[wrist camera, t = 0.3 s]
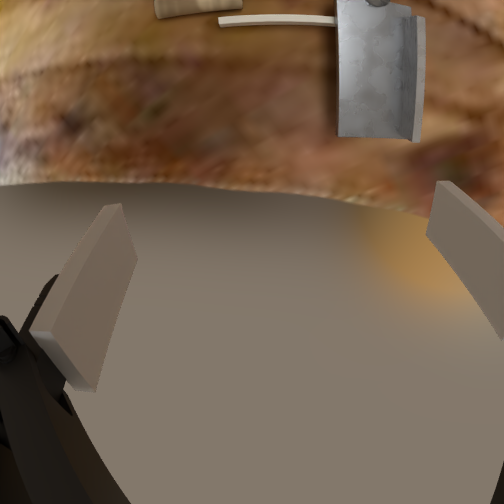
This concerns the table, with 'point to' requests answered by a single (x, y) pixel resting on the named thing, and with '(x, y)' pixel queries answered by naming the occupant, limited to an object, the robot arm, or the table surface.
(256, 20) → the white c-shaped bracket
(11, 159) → the table surface
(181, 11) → the dowel
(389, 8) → the cover
